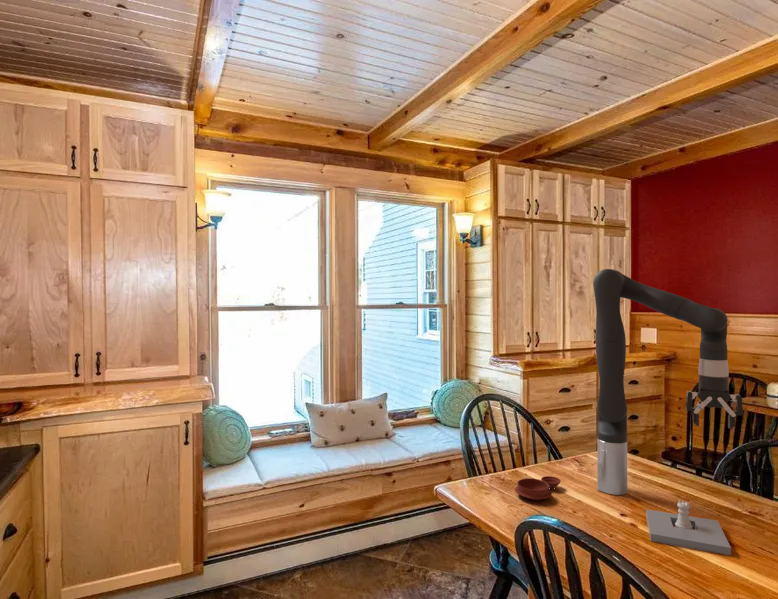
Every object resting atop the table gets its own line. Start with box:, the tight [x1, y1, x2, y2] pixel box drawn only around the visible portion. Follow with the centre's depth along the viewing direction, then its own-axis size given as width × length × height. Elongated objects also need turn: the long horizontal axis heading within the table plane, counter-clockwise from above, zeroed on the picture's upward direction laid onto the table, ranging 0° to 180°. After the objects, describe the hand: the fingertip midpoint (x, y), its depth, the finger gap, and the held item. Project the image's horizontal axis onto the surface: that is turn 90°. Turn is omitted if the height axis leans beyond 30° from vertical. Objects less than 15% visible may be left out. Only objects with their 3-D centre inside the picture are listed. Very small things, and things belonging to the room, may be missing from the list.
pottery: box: [514, 475, 561, 501], centre depth 160 cm, size 12×20×4 cm, turn 131°
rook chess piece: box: [674, 500, 694, 530], centre depth 134 cm, size 4×4×8 cm
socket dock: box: [645, 509, 732, 556], centre depth 132 cm, size 18×16×2 cm
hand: (713, 426), depth 145 cm, fingers open, 8 cm apart
